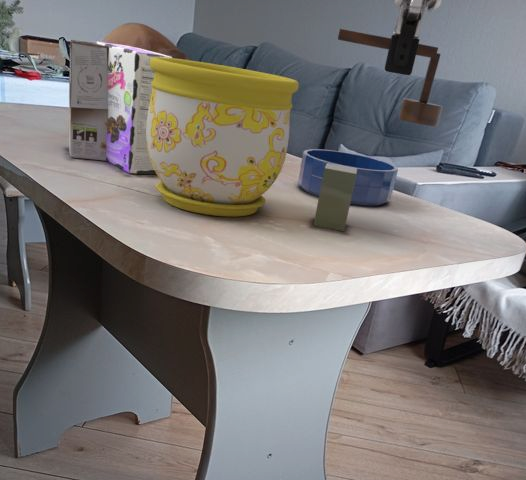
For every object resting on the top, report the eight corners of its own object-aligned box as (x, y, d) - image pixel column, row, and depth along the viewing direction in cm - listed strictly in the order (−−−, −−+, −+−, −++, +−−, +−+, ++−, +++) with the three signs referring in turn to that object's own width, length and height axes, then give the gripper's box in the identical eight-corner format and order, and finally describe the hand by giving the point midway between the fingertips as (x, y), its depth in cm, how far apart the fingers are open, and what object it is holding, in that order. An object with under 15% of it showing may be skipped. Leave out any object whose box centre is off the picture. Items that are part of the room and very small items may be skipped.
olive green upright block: (345, 223, 83) (357, 168, 80) (344, 231, 79) (356, 173, 76) (316, 218, 83) (326, 162, 80) (313, 225, 79) (324, 167, 76)
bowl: (388, 193, 107) (395, 161, 105) (390, 212, 93) (399, 176, 91) (302, 177, 108) (308, 145, 106) (292, 194, 94) (299, 157, 92)
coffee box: (112, 162, 95) (117, 48, 88) (69, 158, 93) (71, 40, 86) (107, 150, 103) (112, 44, 96) (67, 146, 101) (69, 38, 94)
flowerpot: (282, 201, 89) (302, 79, 82) (270, 233, 73) (294, 84, 66) (160, 179, 90) (170, 56, 82) (122, 206, 74) (130, 56, 66)
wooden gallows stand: (434, 124, 80) (455, 51, 76) (439, 128, 76) (461, 51, 72) (325, 102, 81) (340, 29, 77) (323, 104, 76) (339, 27, 72)
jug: (90, 151, 100) (232, 182, 121) (126, 26, 91) (273, 82, 112) (47, 103, 112) (183, 139, 132) (76, -11, 103) (217, 46, 123)
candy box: (91, 153, 99) (94, 39, 92) (125, 154, 102) (131, 45, 95) (128, 174, 89) (135, 49, 82) (164, 174, 93) (174, 55, 85)
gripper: (486, -122, 61) (434, 80, 69) (461, -88, 75) (421, 77, 83) (410, -133, 61) (368, 69, 69) (400, -97, 75) (366, 67, 83)
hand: (397, 72), depth 76 cm, fingers closed on wooden gallows stand, 1 cm apart
